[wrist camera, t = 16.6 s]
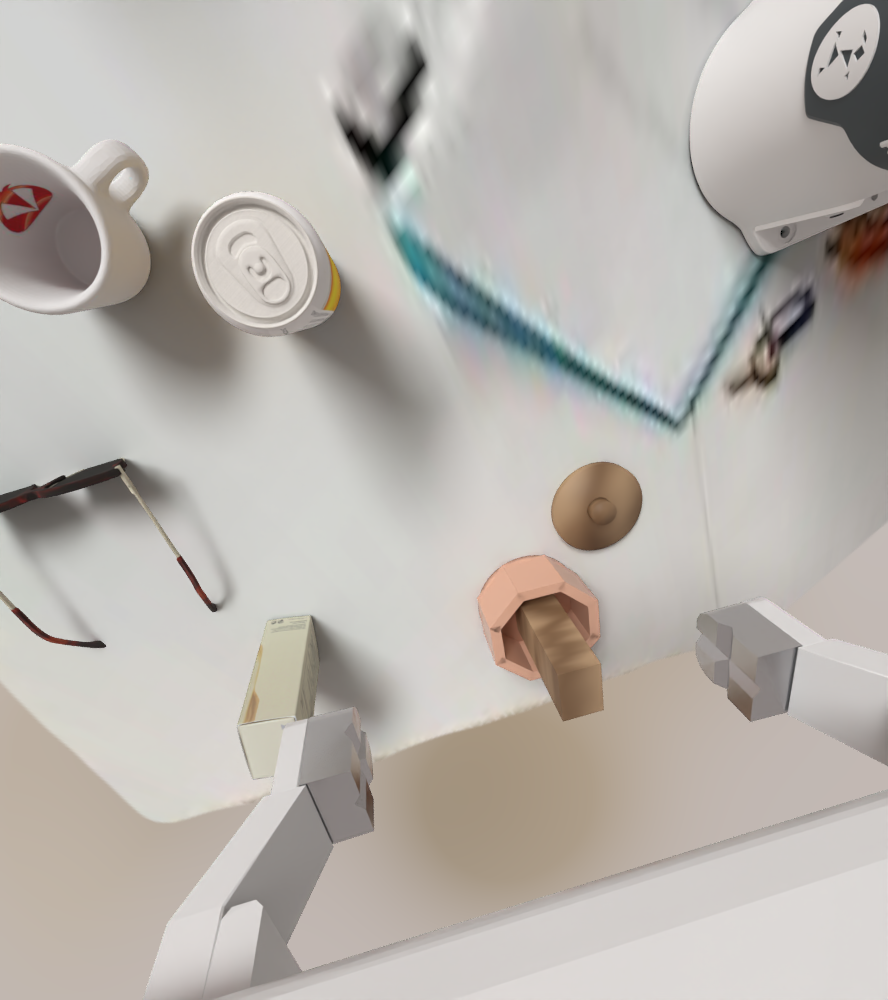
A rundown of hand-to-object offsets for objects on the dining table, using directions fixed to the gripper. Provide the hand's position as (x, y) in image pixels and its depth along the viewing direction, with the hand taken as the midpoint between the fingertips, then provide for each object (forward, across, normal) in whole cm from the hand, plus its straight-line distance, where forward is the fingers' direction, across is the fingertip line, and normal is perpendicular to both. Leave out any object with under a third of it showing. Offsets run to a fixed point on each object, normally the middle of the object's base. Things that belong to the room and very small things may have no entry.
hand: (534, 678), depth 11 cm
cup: (+31, +17, -16) cm, 39 cm away
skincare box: (+31, +16, +20) cm, 40 cm away
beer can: (+31, +6, -11) cm, 34 cm away
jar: (+31, -8, +22) cm, 39 cm away
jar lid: (+32, -16, +13) cm, 38 cm away
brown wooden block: (+30, -8, +22) cm, 38 cm away
